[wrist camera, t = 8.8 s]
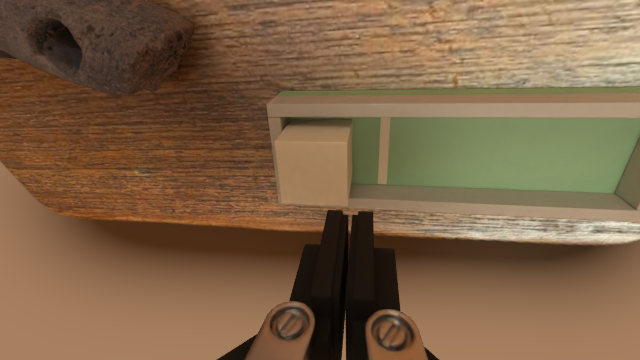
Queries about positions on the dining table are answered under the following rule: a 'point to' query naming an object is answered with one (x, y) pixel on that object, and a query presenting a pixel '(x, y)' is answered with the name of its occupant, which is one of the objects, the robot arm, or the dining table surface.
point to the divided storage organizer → (484, 149)
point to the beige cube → (315, 162)
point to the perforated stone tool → (97, 41)
